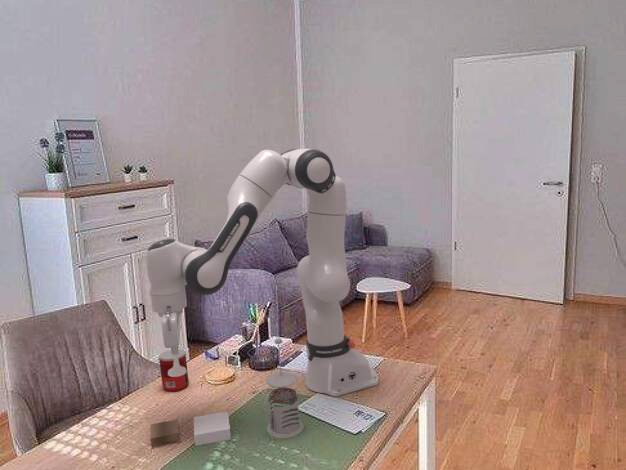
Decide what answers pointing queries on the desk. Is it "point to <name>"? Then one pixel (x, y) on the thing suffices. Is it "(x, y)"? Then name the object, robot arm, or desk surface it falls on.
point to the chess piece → (176, 368)
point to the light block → (211, 428)
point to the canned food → (166, 364)
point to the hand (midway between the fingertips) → (175, 350)
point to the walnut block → (165, 433)
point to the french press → (288, 421)
